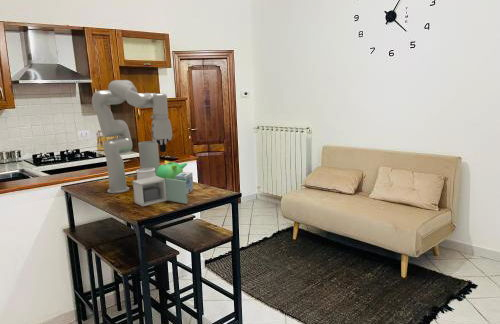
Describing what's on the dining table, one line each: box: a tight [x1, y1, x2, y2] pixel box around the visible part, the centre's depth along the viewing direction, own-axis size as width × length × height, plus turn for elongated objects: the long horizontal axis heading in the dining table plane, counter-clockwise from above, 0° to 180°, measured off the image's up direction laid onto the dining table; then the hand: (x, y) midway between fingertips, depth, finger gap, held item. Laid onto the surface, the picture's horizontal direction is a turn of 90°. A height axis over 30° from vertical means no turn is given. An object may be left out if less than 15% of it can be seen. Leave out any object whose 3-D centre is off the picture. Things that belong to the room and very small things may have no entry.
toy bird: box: [156, 160, 188, 184], centre depth 239 cm, size 18×17×15 cm
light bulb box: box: [175, 171, 194, 195], centre depth 218 cm, size 11×7×11 cm, turn 168°
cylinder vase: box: [137, 140, 161, 175], centre depth 253 cm, size 12×12×25 cm
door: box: [166, 178, 188, 205], centre depth 198 cm, size 2×14×12 cm, turn 55°
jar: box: [136, 167, 156, 180], centre depth 215 cm, size 11×10×15 cm
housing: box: [132, 176, 168, 207], centre depth 201 cm, size 10×14×12 cm
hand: (162, 151), depth 201 cm, fingers closed
